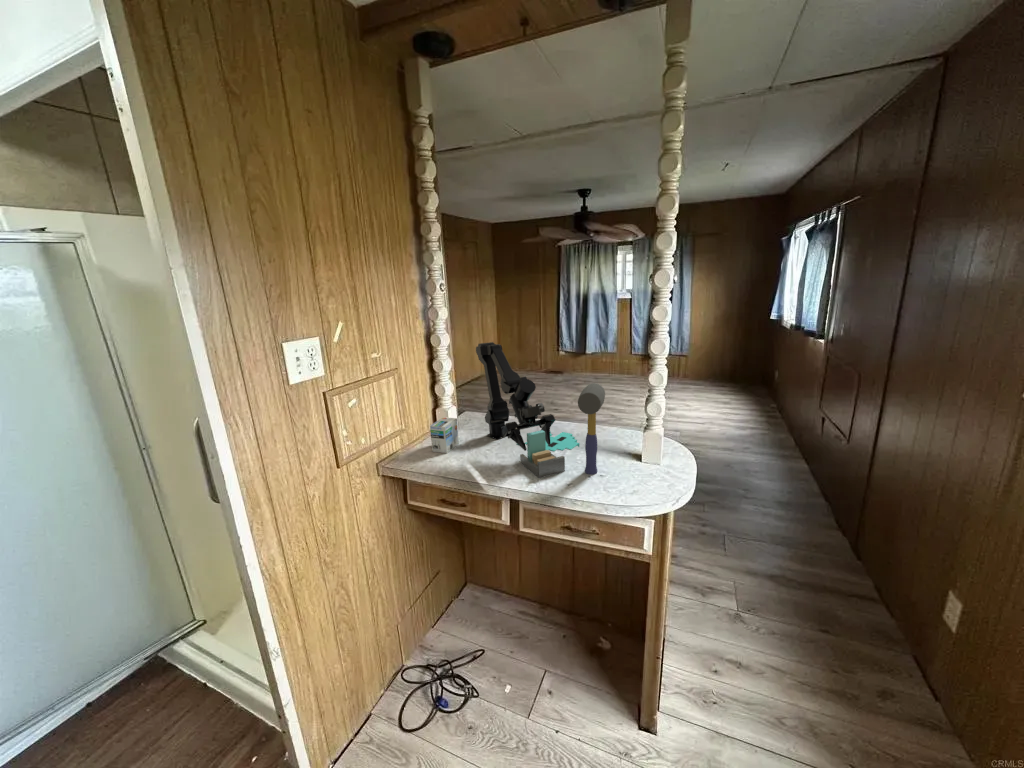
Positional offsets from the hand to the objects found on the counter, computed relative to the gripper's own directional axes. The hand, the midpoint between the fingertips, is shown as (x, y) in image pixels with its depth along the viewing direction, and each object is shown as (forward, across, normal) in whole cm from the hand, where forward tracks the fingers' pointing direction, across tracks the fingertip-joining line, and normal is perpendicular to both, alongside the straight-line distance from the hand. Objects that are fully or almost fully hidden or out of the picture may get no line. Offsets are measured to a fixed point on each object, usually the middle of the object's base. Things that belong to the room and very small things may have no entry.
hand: (537, 447), depth 132 cm
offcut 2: (+8, 0, 0) cm, 8 cm away
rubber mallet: (+15, +12, -4) cm, 20 cm away
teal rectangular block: (+4, 0, +5) cm, 6 cm away
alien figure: (-4, +14, +16) cm, 22 cm away
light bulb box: (-19, -22, +29) cm, 41 cm away
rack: (+7, 0, +4) cm, 8 cm away
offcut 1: (+6, 0, +3) cm, 7 cm away
